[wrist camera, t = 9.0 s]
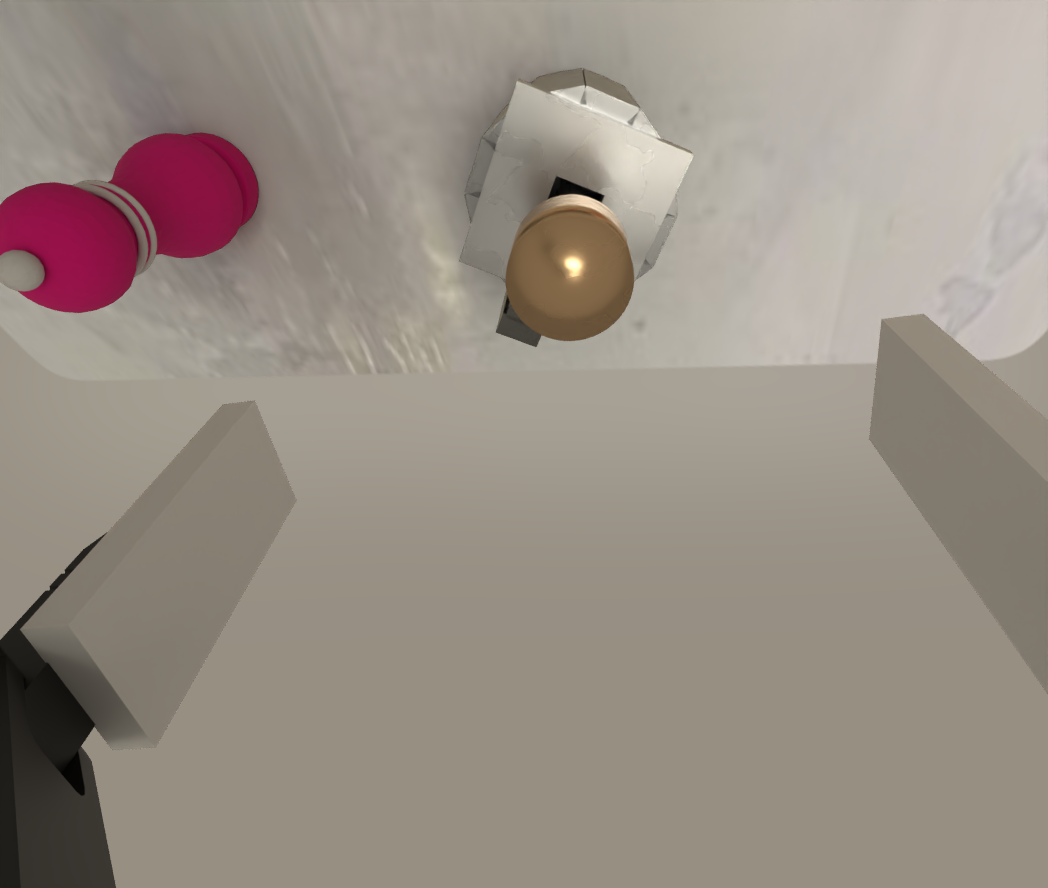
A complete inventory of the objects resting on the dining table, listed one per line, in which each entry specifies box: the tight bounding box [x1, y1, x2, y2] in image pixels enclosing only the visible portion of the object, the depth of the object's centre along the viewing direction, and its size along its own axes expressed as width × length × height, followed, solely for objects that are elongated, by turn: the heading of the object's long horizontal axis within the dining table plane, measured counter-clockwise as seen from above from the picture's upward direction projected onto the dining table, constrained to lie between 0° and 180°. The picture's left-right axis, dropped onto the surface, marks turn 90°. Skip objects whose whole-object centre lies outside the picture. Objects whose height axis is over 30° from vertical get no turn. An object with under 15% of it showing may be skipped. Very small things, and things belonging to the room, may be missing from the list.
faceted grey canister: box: [459, 68, 694, 347], centre depth 39 cm, size 10×13×14 cm
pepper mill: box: [0, 133, 258, 313], centre depth 38 cm, size 7×7×20 cm
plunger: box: [506, 176, 634, 341], centre depth 32 cm, size 7×7×20 cm
